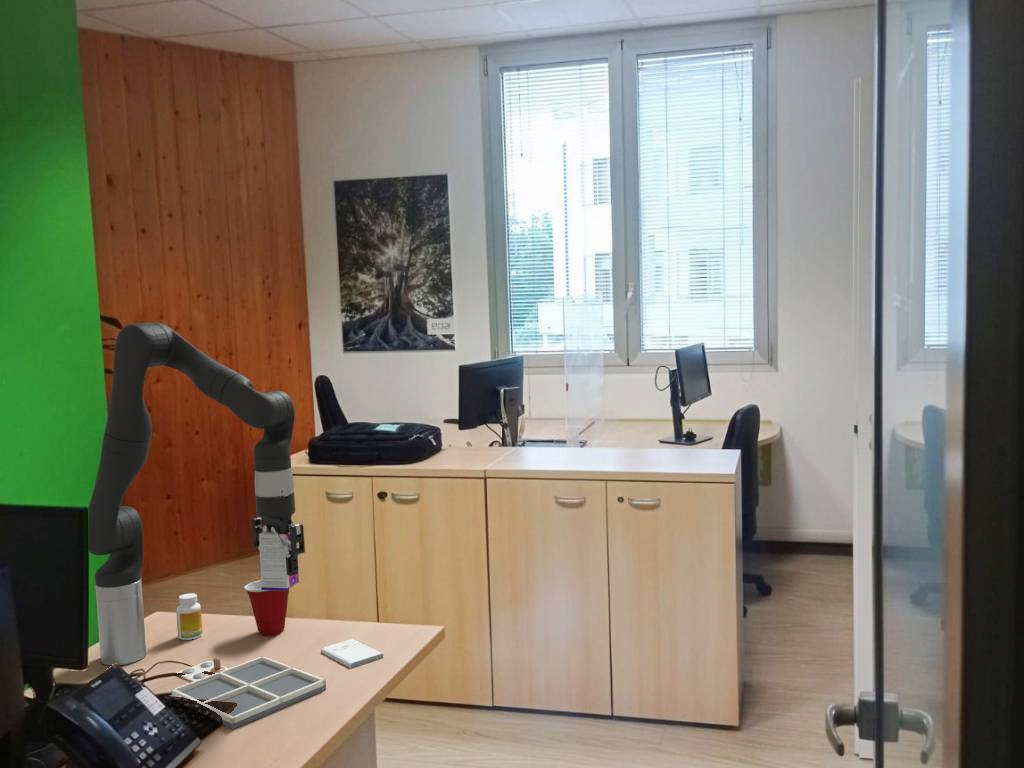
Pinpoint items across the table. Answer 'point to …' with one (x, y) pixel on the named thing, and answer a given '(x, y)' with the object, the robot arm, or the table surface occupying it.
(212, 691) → the socket board
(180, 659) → the table surface
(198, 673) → the tile
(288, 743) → the table surface
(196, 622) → the supplement bottle
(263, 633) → the plastic cup
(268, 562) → the supplement box
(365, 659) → the external hard drive
